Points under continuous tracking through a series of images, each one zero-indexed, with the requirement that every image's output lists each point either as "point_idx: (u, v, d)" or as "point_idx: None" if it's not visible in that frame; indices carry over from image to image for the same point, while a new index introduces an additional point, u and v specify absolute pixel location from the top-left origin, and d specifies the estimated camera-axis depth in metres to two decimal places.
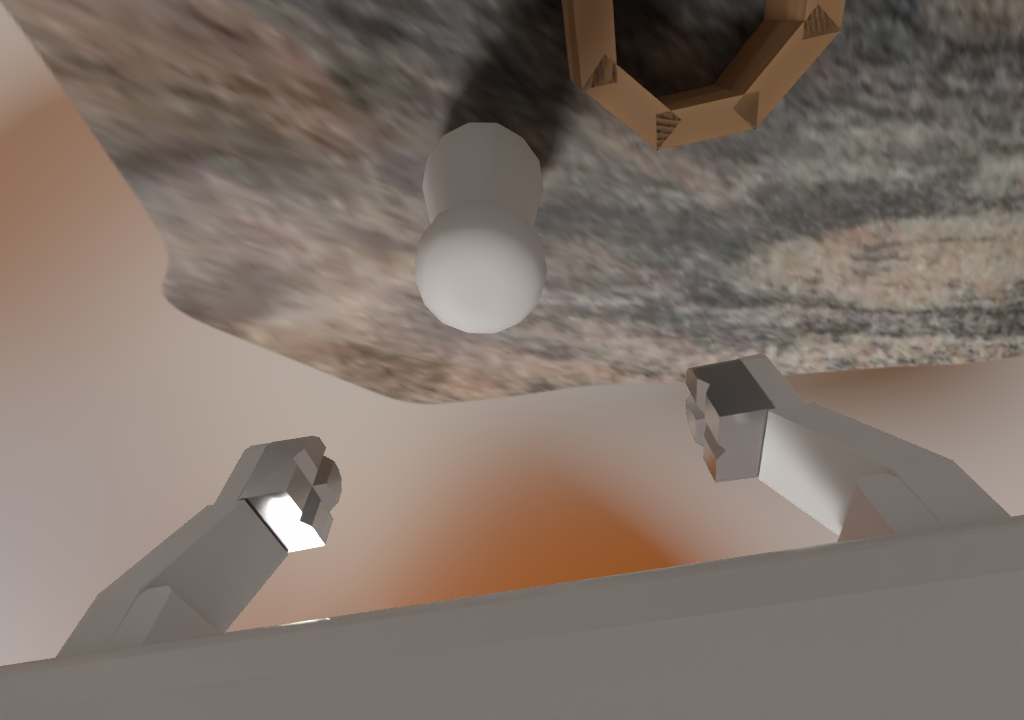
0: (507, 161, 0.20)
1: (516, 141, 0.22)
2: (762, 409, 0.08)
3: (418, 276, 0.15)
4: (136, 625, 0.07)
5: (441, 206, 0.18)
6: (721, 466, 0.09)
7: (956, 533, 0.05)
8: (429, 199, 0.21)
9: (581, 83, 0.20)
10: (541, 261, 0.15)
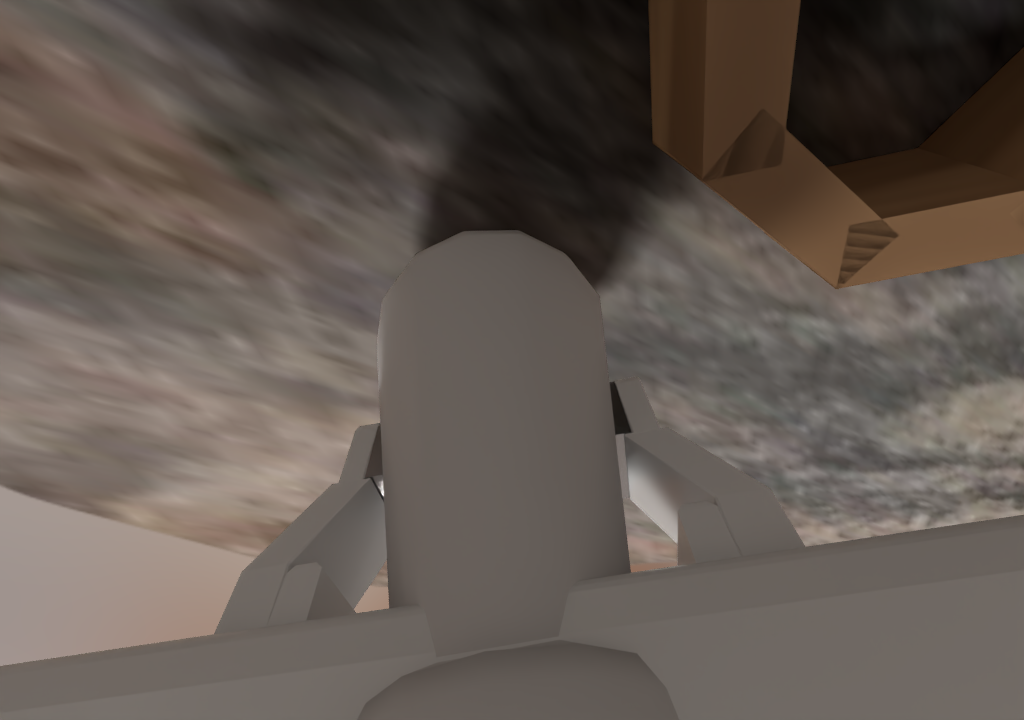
0: (557, 346, 0.09)
1: (562, 274, 0.11)
2: (620, 433, 0.09)
3: None
4: (294, 601, 0.07)
5: (408, 509, 0.07)
6: None
7: (956, 533, 0.05)
8: (385, 414, 0.10)
9: (701, 167, 0.09)
10: None
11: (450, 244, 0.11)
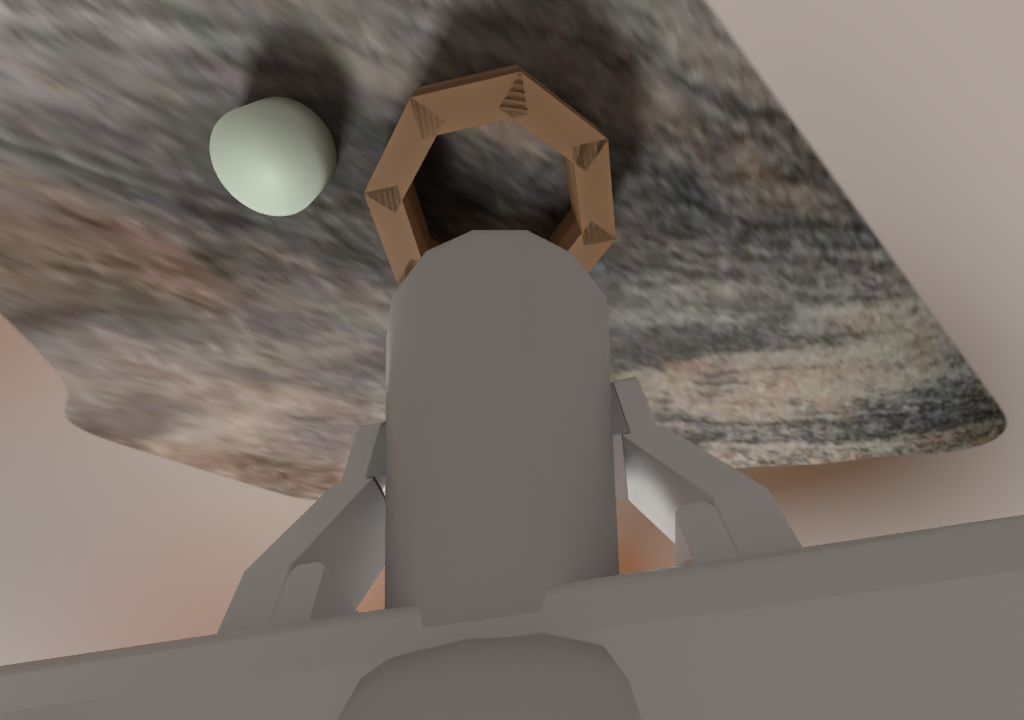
0: (559, 346, 0.09)
1: (568, 275, 0.11)
2: (618, 433, 0.09)
3: None
4: (297, 600, 0.07)
5: (405, 500, 0.07)
6: None
7: (956, 533, 0.05)
8: (390, 408, 0.10)
9: (396, 278, 0.23)
10: None
11: (459, 243, 0.11)
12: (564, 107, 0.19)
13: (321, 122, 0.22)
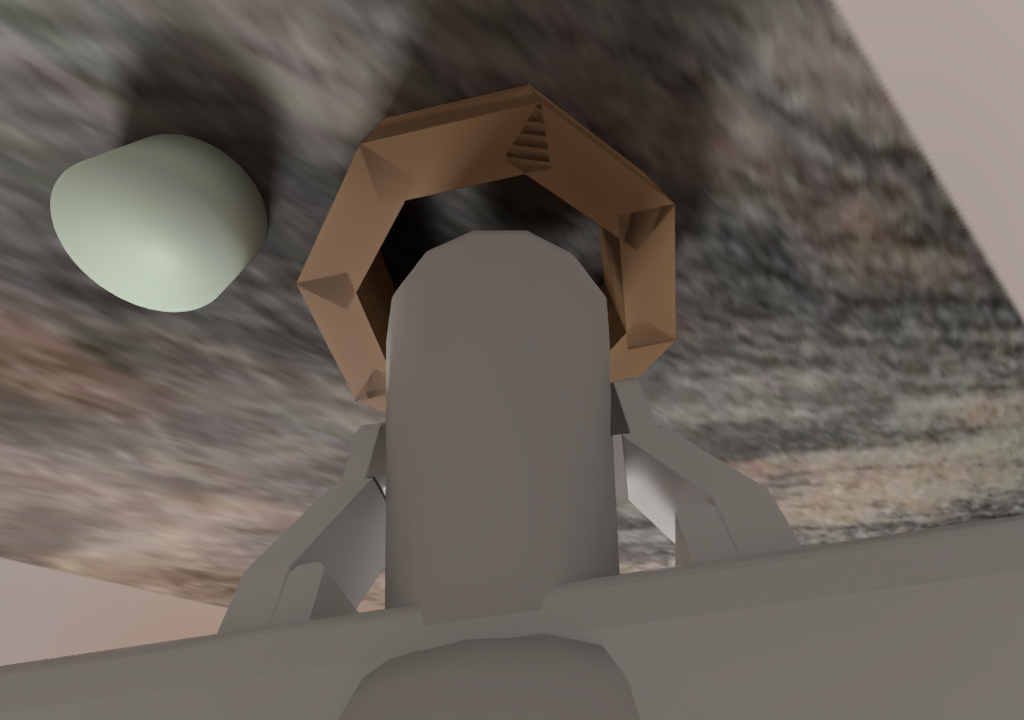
0: (558, 347, 0.09)
1: (568, 275, 0.11)
2: (618, 433, 0.09)
3: None
4: (297, 600, 0.07)
5: (406, 501, 0.07)
6: None
7: (956, 533, 0.05)
8: (390, 409, 0.10)
9: (354, 393, 0.16)
10: None
11: (459, 243, 0.11)
12: (609, 157, 0.12)
13: (238, 170, 0.15)
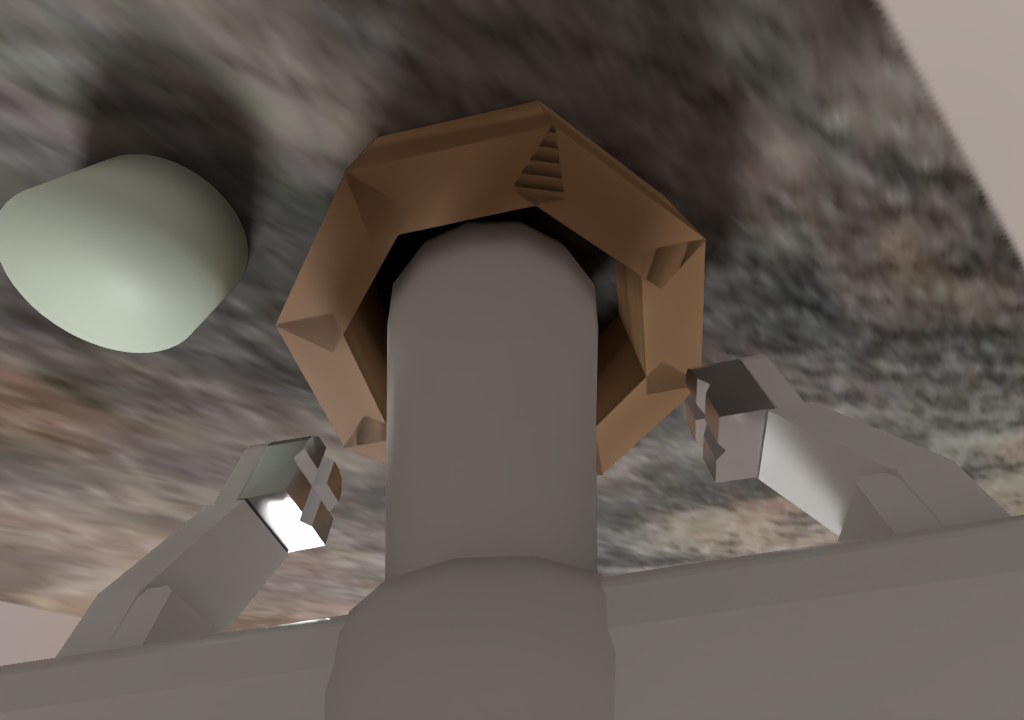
0: (546, 324, 0.10)
1: (557, 262, 0.12)
2: (762, 409, 0.08)
3: None
4: (137, 624, 0.07)
5: (405, 459, 0.08)
6: (721, 466, 0.09)
7: (956, 533, 0.05)
8: (391, 384, 0.11)
9: (342, 439, 0.14)
10: None
11: (455, 232, 0.12)
12: (632, 187, 0.10)
13: (214, 194, 0.13)
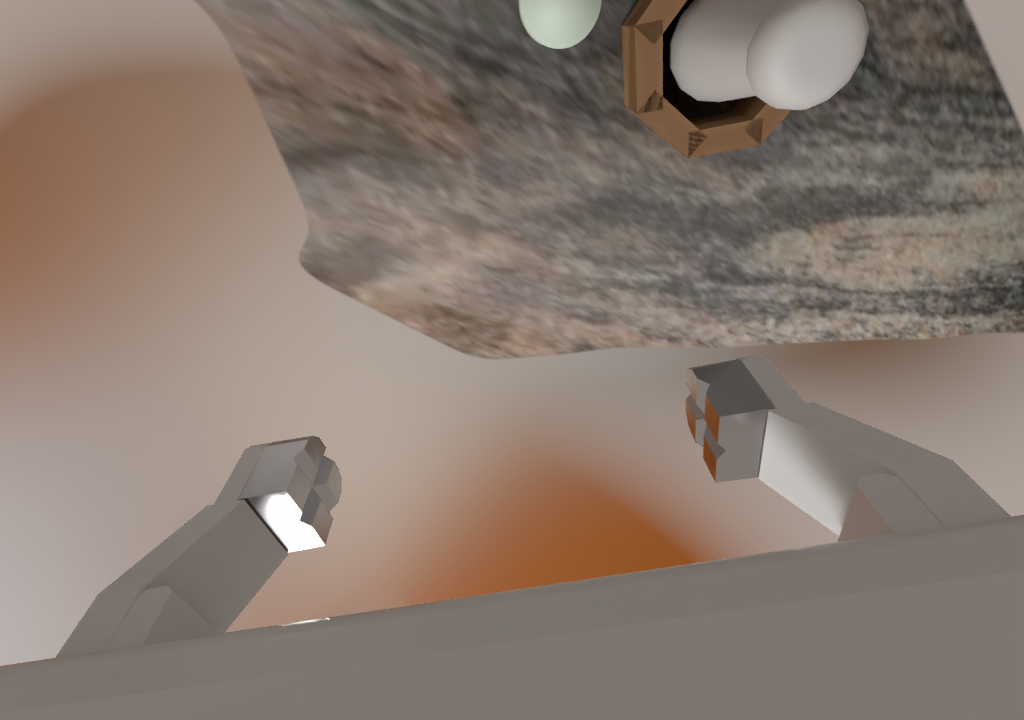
0: None
1: None
2: (762, 409, 0.08)
3: (769, 45, 0.19)
4: (136, 625, 0.07)
5: (743, 22, 0.22)
6: (721, 466, 0.09)
7: (956, 533, 0.05)
8: (702, 36, 0.25)
9: (637, 109, 0.29)
10: (866, 36, 0.19)
11: None
12: None
13: None
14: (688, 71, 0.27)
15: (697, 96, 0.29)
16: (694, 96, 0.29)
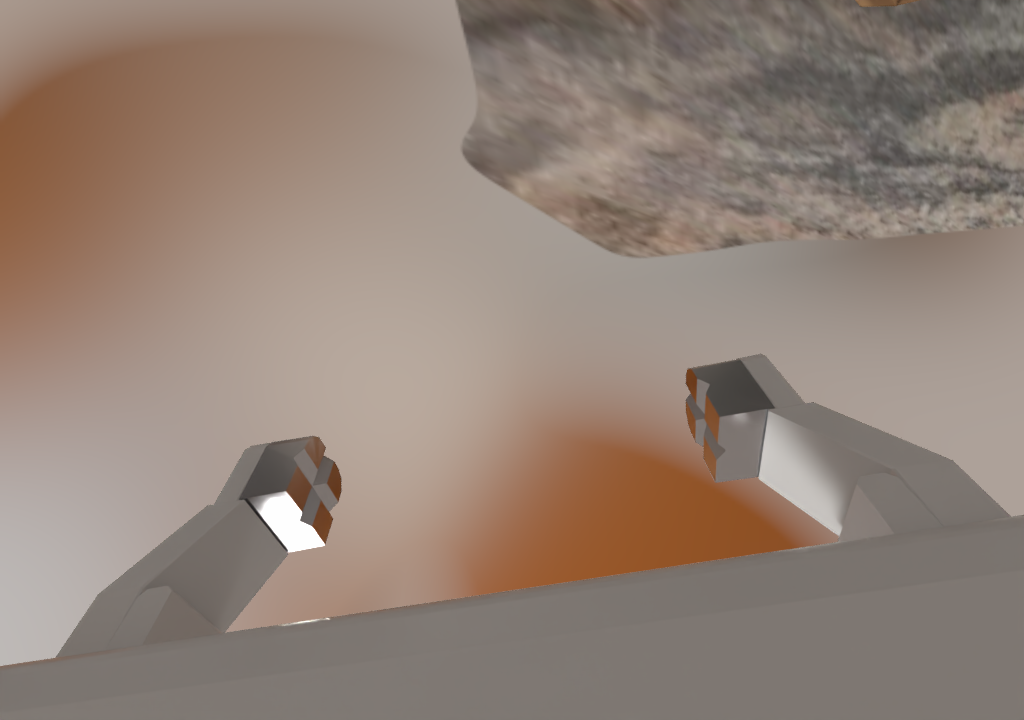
0: None
1: None
2: (762, 409, 0.08)
3: None
4: (136, 625, 0.07)
5: None
6: (721, 466, 0.09)
7: (956, 533, 0.05)
8: None
9: None
10: None
11: None
12: None
13: None
14: None
15: None
16: None
